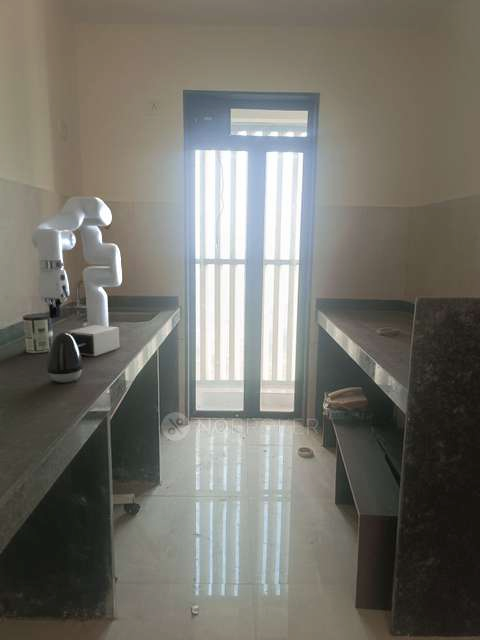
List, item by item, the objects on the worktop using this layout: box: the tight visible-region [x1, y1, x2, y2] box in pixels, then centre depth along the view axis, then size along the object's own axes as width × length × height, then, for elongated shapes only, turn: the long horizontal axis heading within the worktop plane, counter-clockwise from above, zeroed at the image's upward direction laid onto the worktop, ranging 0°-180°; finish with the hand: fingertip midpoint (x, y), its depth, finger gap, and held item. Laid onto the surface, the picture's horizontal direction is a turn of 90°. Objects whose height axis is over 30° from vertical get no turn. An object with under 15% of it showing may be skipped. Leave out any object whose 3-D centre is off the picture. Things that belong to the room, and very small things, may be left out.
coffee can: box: [22, 312, 54, 354], centre depth 165 cm, size 10×10×14 cm
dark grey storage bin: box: [70, 334, 93, 354], centre depth 162 cm, size 19×11×7 cm, turn 157°
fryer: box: [67, 325, 121, 357], centre depth 166 cm, size 15×13×9 cm
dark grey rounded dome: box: [46, 332, 84, 384], centre depth 129 cm, size 10×10×15 cm
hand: (55, 317), depth 147 cm, fingers closed
